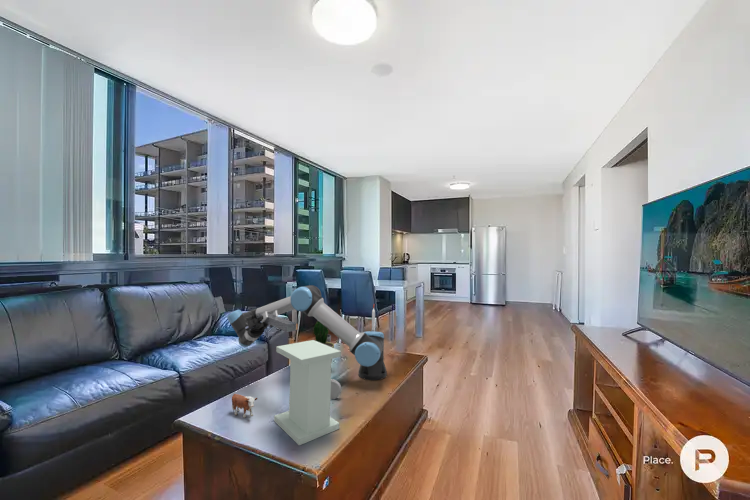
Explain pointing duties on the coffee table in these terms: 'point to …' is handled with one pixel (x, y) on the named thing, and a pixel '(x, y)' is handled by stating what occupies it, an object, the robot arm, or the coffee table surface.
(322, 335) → the potted cactus
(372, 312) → the candlestick
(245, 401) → the bull figurine
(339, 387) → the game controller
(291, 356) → the stand
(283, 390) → the coffee table surface
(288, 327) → the bar
